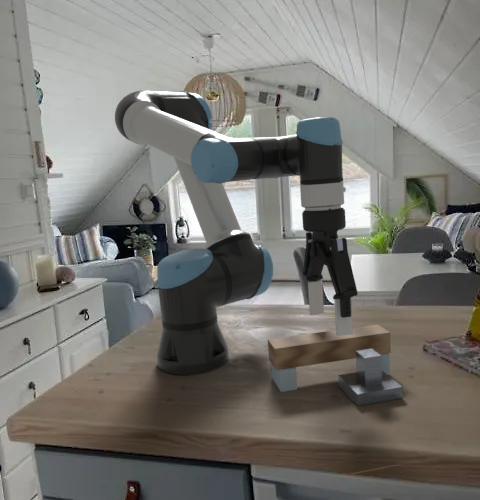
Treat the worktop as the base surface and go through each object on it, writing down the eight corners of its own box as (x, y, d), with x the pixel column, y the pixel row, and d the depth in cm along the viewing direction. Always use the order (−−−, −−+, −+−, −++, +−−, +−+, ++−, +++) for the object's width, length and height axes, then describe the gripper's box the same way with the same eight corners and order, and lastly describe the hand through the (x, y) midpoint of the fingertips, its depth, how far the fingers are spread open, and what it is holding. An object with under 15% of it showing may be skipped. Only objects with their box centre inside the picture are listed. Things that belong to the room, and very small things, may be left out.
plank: (276, 370, 87) (274, 348, 86) (269, 359, 92) (267, 339, 91) (390, 352, 91) (390, 332, 90) (377, 344, 96) (377, 324, 95)
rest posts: (281, 392, 87) (279, 370, 86) (272, 378, 93) (270, 358, 92) (389, 374, 91) (389, 354, 90) (375, 362, 97) (374, 343, 96)
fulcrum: (357, 405, 80) (356, 365, 79) (338, 385, 88) (337, 348, 87) (402, 398, 82) (401, 358, 81) (380, 378, 89) (379, 342, 88)
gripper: (375, 209, 75) (380, 341, 78) (318, 203, 99) (324, 304, 103) (329, 214, 74) (336, 348, 77) (283, 206, 98) (290, 309, 101)
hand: (329, 323), depth 90 cm, fingers open, 13 cm apart
